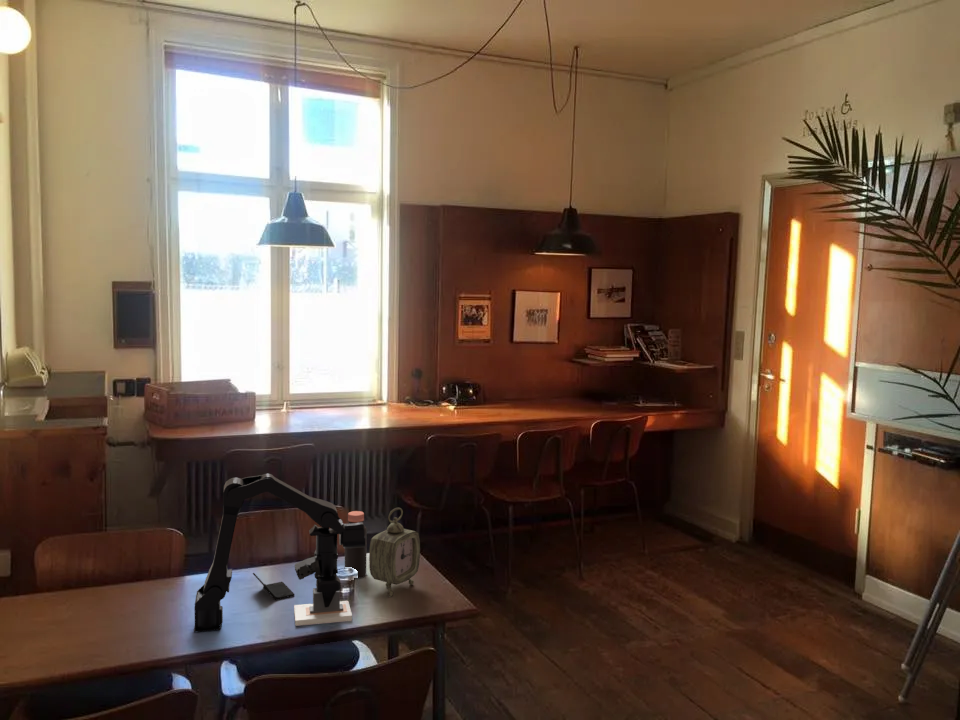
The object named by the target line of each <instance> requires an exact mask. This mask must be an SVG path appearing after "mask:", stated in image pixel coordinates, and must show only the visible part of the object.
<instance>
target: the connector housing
mask: <svg viewBox="0 0 960 720" xmlns="http://www.w3.org/2000/svg"><path fill="white" fill-rule="evenodd" d="M340 597H341V590H340V591H336V593H335V595H334V597H333V599H332V601H331V603H330V606H329V607H325V606H324V600H323V595H322V592H317V589H316V587H314V588H313V589H312V604H313V610H314V611H325V610H336V609H340V601H341V598H340Z"/></svg>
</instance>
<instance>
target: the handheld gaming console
mask: <svg viewBox="0 0 960 720" xmlns="http://www.w3.org/2000/svg"><path fill="white" fill-rule="evenodd" d="M252 574H253V576H254V577H255V578H256V579H257V580H258V581H259V582H260V584H261V585H262V586H263V589H264V590H265V591H266V592H267V593H268V594H269V596H270V597H271V598H272V600H274V601H279V600H284V599H289V598H293V597H295V593H294V592H293V591H292V590H291V589H290V588H289V587H288V586H287V584H286V583H284V582H283V581H279V582H273V583H268V584H266V583H264V582H263V581H262V580H261V579H260V578H259V576H258V575H257V574H255V572H253V573H252Z"/></svg>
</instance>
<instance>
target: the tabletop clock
mask: <svg viewBox="0 0 960 720" xmlns="http://www.w3.org/2000/svg"><path fill="white" fill-rule="evenodd" d="M395 511H400V516H399V517H396V516H394V517H393V520H391V516H392V514H393V513H394V512H395ZM403 513H404V511H403V509H402V508H401V507H395V508H393V509H391V510H390V512H389V514H388V522H389V523H390V524H389V525H388V526H387V528H386V530H384V531H381V532H379V533H377V534H375V535H374V536H373V537H372V538H371V539H370V542H369V557H368V558H369V559H368V561H369V565H368V566H369V572H370V575H371V577H372V578H373V580H375V581H376V580H377V581H380V582H384V583H385V587H386V588H387V587H388V588H387V589H388V590H389V591H387V596H388V597H390V598H391V597H393V595H394V592H393V591H392V585H395V586H396V585H400V584H402V583H405V582H407V581H408V584H409V585H410V586H412V585H414V582H415V580H414V579H412V578H413V577H414V576H415V575H416V574H417V573H418V570H419V566H420V560H421V559H420V558H421V557H420V556H421V540H420V539H421V538H420V533H419V531H415V530H411V529H407V528H404V526H403V525H402V523H400V522H399V521H400V520H401V519H402V517H403Z"/></svg>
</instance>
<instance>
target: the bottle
mask: <svg viewBox="0 0 960 720" xmlns="http://www.w3.org/2000/svg"><path fill="white" fill-rule="evenodd" d="M364 521H365V513H364V512H363V511H362V510H361V511H360V510H353V511H350V512H348V513H347V522H348V524H351V523H358V522H363V523H364ZM367 529H368V528H367V527H366V526H365V525H364V535H365V547H360V548H346V549H344V568H345V567H352V568H354V569H356V570H357V571H358V579H362V578H364V577H365V576H366V575H367V552H368V551H367V549H368V545H367V543H368V539H367V538H368V537H367V536H368V534H367V533H368V530H367Z"/></svg>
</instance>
